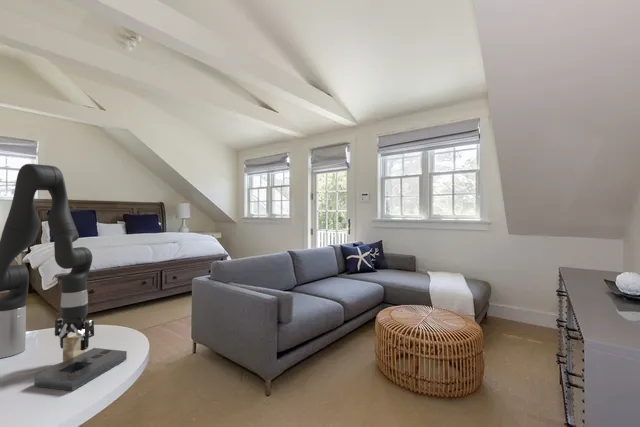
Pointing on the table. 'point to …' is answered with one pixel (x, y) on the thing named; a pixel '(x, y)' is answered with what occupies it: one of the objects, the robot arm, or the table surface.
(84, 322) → the robot arm
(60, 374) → the metal socket plate
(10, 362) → the table surface
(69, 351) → the maple block
